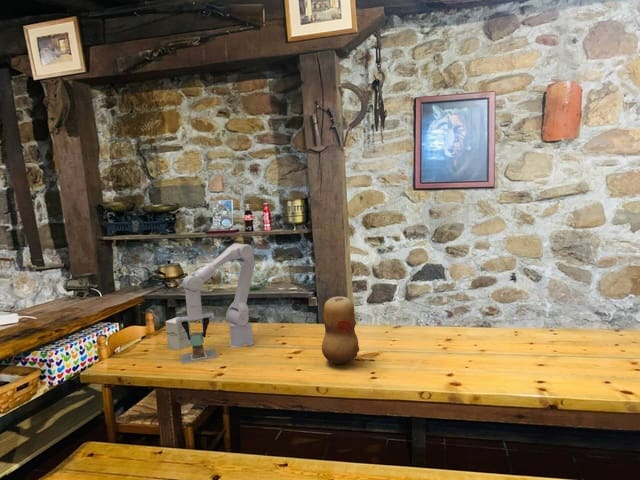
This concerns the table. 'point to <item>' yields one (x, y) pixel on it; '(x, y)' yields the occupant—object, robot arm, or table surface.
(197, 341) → the teal block
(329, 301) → the butternut squash
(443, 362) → the table surface
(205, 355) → the slate board
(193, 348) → the walnut block
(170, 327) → the supplement box
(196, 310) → the robot arm
